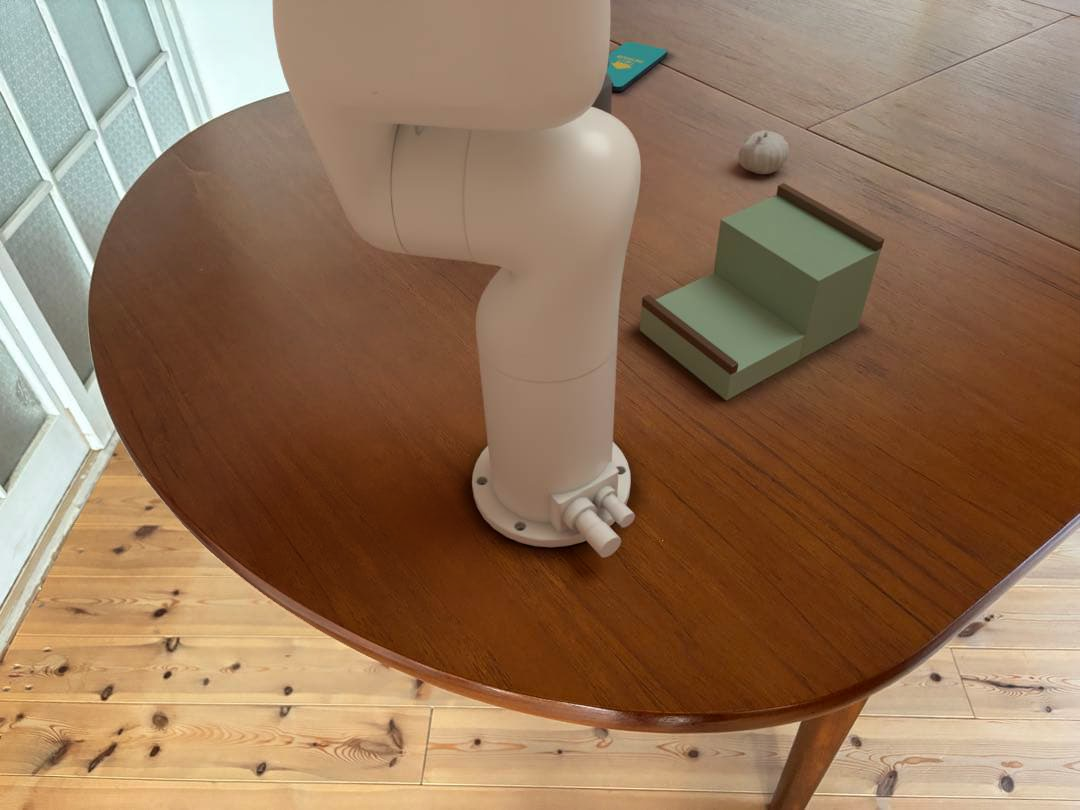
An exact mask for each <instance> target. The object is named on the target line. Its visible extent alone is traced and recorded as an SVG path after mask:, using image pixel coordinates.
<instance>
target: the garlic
mask: <svg viewBox="0 0 1080 810" xmlns="http://www.w3.org/2000/svg"><path fill="white" fill-rule="evenodd" d="M789 155H790V147H789V143H788V142H787V141H786V140H785V136H783V135H782V134H780V133H777V132H775V131H771V130H770V131H769V130H765V129H764V130H758V131H755V132H753V133H752V134H751V135H750V136H747V138H746V139H745V140H744V142H743V144H742V145H741V147H740V148H739V151H738V162H739V164H740V165H741V167H742V168H743V169H744V170H746V171H749V172H751V173H754V174H758V175H770V174H772V173H774V172H776V171H779V170H782V168H783V166H784V164H785V163H786V162H787V160H788V158H789Z"/></svg>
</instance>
